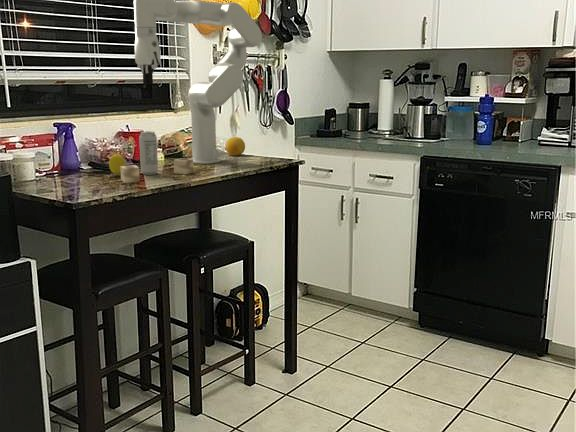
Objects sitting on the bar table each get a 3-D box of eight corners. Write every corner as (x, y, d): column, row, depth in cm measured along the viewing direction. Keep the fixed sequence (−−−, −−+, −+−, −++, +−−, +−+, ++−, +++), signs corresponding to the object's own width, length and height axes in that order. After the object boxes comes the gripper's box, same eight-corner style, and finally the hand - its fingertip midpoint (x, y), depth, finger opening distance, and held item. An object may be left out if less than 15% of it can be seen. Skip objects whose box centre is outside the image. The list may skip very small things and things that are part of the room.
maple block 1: (135, 179, 215) (134, 164, 214) (139, 182, 211) (138, 166, 209) (121, 180, 213) (120, 165, 211) (124, 183, 208) (123, 167, 207)
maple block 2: (182, 171, 232) (181, 157, 230) (193, 172, 229) (193, 158, 228) (174, 173, 227) (173, 159, 226) (185, 174, 225) (184, 160, 224)
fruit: (221, 155, 271) (221, 137, 269) (234, 153, 277) (234, 135, 275) (236, 157, 265) (235, 138, 263) (249, 155, 271) (249, 137, 269)
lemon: (120, 173, 225) (119, 151, 223) (128, 175, 221) (127, 153, 220) (106, 175, 222) (105, 152, 220) (114, 177, 218) (113, 154, 216)
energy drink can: (154, 171, 230) (152, 130, 226) (160, 174, 225) (159, 132, 221) (138, 173, 226) (136, 131, 223) (144, 175, 221) (142, 133, 218)
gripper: (166, 32, 225) (168, 84, 230) (142, 33, 235) (144, 83, 239) (149, 32, 220) (151, 85, 224) (125, 33, 229) (127, 84, 234)
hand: (148, 84), depth 232 cm, fingers closed
